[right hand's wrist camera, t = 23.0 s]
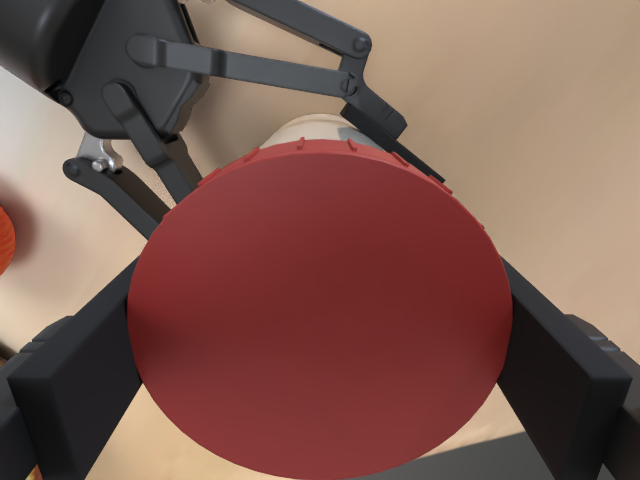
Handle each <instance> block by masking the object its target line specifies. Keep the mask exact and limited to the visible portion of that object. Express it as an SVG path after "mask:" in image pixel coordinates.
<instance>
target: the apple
mask: <svg viewBox="0 0 640 480" xmlns="http://www.w3.org/2000/svg"><path fill="white" fill-rule="evenodd" d="M15 245H16V239H15V230H14V227H13V224H12V222H11V220H10V218H9V217H8V215H7V214H6V213H5V211H4V210H3V209H2V207H1V206H0V276H1V274H2V273H3V272H4V271H5V270H6V268H7V267H8V265H9V263H10V261H11V259H12V257H13V255H14V251H15Z"/></svg>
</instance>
